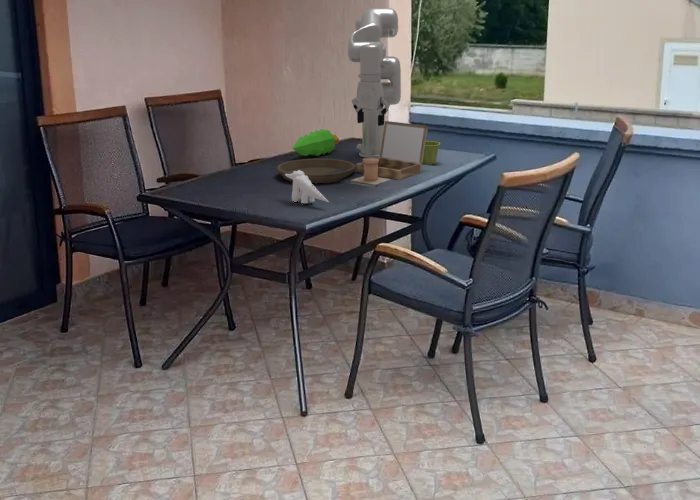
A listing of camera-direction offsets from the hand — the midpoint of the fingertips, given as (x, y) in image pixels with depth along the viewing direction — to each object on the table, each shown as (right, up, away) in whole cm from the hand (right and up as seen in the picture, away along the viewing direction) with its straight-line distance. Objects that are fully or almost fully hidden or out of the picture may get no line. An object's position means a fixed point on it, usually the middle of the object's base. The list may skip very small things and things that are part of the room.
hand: (370, 123), depth 331 cm
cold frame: (+8, -18, +17) cm, 26 cm away
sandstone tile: (0, -22, +6) cm, 22 cm away
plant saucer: (-21, -19, +18) cm, 33 cm away
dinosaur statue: (-23, -32, -22) cm, 45 cm away
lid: (+13, -4, +21) cm, 25 cm away
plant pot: (+25, -12, +36) cm, 45 cm away
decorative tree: (-24, -7, +54) cm, 59 cm away
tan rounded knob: (0, -21, +6) cm, 21 cm away
